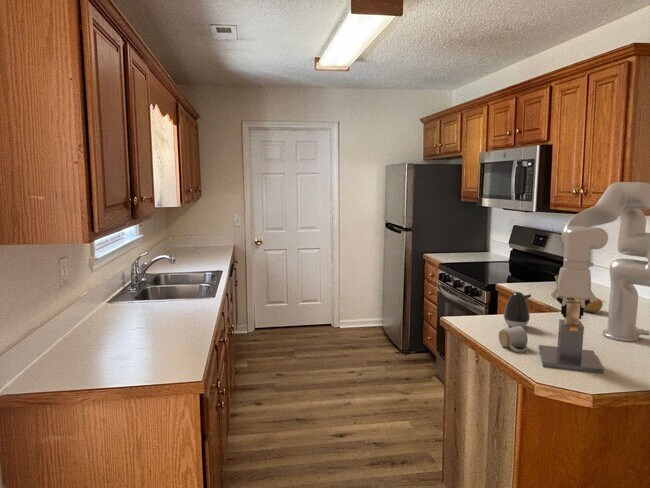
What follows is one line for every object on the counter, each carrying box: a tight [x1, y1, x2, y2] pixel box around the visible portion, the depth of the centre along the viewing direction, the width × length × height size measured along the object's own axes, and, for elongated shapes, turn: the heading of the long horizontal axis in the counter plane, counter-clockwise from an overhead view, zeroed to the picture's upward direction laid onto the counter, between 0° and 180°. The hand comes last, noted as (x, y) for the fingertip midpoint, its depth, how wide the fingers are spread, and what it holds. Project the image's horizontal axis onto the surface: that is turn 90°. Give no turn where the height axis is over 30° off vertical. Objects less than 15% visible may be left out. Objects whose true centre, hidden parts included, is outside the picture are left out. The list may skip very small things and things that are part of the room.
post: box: [563, 299, 580, 326], centre depth 167 cm, size 4×4×19 cm
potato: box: [574, 297, 604, 313], centre depth 229 cm, size 10×14×8 cm
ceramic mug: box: [498, 326, 529, 354], centre depth 180 cm, size 11×8×8 cm
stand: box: [538, 319, 604, 374], centre depth 167 cm, size 18×18×14 cm
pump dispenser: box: [503, 291, 532, 328], centre depth 205 cm, size 10×10×15 cm
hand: (571, 316), depth 166 cm, fingers closed on post, 4 cm apart
